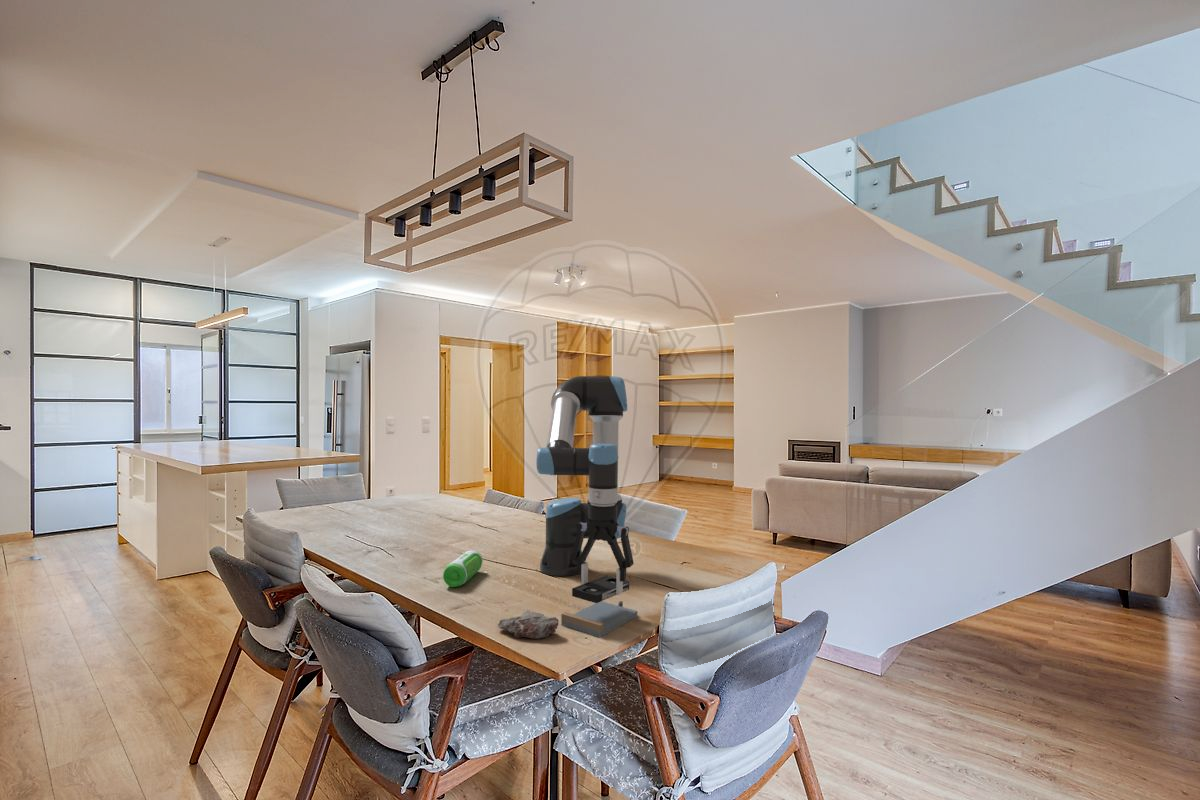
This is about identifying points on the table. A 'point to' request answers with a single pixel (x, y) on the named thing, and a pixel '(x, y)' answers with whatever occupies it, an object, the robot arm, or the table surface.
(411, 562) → the table surface
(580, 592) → the vhs tape
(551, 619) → the mineral rock
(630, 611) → the board
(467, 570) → the speaker
